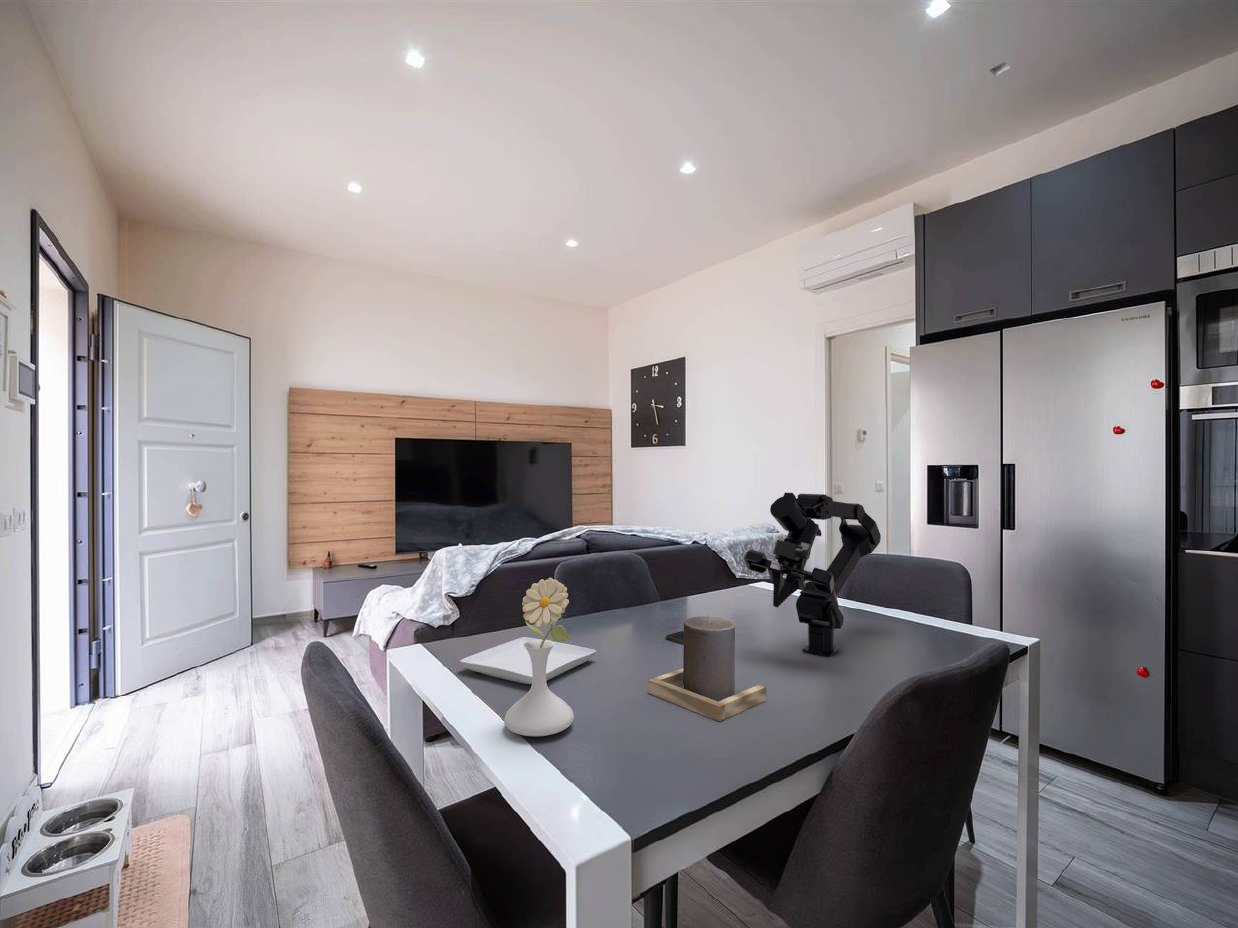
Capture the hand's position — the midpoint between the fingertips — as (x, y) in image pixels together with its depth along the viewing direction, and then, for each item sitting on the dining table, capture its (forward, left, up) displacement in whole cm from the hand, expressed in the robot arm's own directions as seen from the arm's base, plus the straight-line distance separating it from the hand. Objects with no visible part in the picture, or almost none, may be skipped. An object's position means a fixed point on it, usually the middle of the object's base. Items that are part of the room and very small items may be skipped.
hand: (775, 606), depth 126 cm
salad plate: (+32, -41, -14) cm, 54 cm away
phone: (-6, -23, -14) cm, 28 cm away
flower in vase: (+51, -17, -13) cm, 55 cm away
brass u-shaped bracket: (+21, -4, -13) cm, 25 cm away
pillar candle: (+21, -4, -13) cm, 25 cm away
